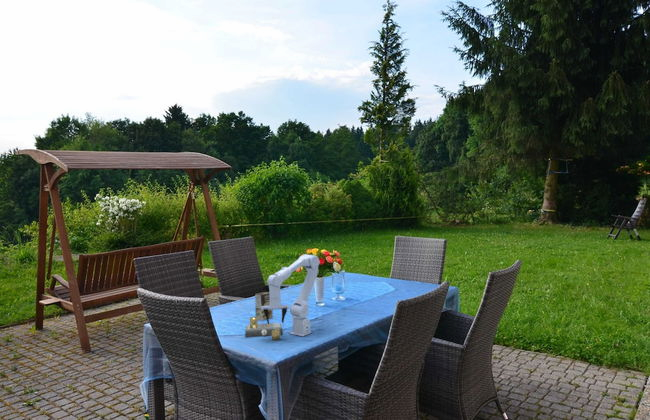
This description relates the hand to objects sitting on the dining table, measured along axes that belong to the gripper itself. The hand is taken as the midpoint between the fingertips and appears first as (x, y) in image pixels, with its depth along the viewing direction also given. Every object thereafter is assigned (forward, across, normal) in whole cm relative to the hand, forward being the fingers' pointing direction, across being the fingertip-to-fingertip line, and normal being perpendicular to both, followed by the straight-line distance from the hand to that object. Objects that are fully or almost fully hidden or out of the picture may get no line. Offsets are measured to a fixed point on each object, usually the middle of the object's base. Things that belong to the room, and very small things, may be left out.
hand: (275, 323), depth 252 cm
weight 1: (+6, +11, -16) cm, 20 cm away
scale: (+9, +6, -14) cm, 18 cm away
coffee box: (+9, +4, -43) cm, 45 cm away
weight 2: (+9, 0, 0) cm, 9 cm away
